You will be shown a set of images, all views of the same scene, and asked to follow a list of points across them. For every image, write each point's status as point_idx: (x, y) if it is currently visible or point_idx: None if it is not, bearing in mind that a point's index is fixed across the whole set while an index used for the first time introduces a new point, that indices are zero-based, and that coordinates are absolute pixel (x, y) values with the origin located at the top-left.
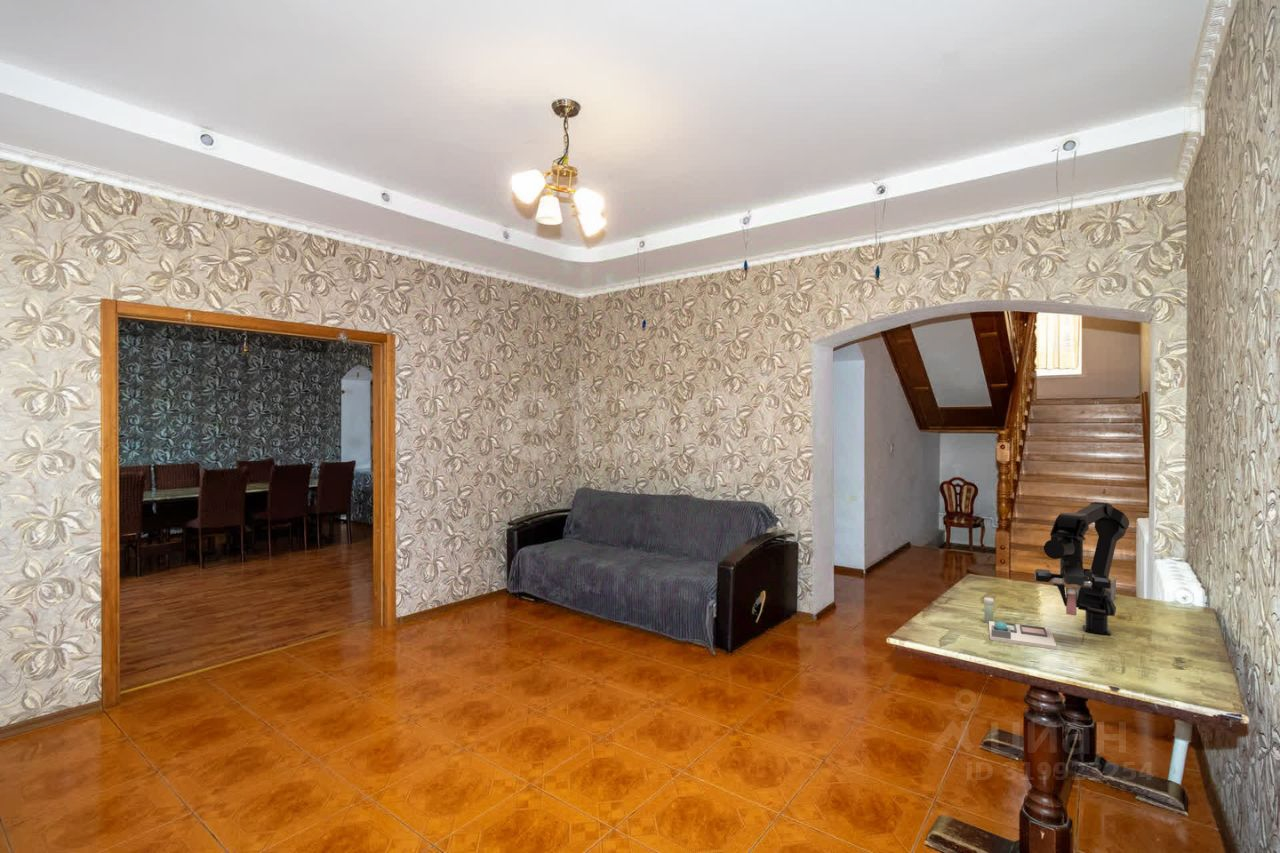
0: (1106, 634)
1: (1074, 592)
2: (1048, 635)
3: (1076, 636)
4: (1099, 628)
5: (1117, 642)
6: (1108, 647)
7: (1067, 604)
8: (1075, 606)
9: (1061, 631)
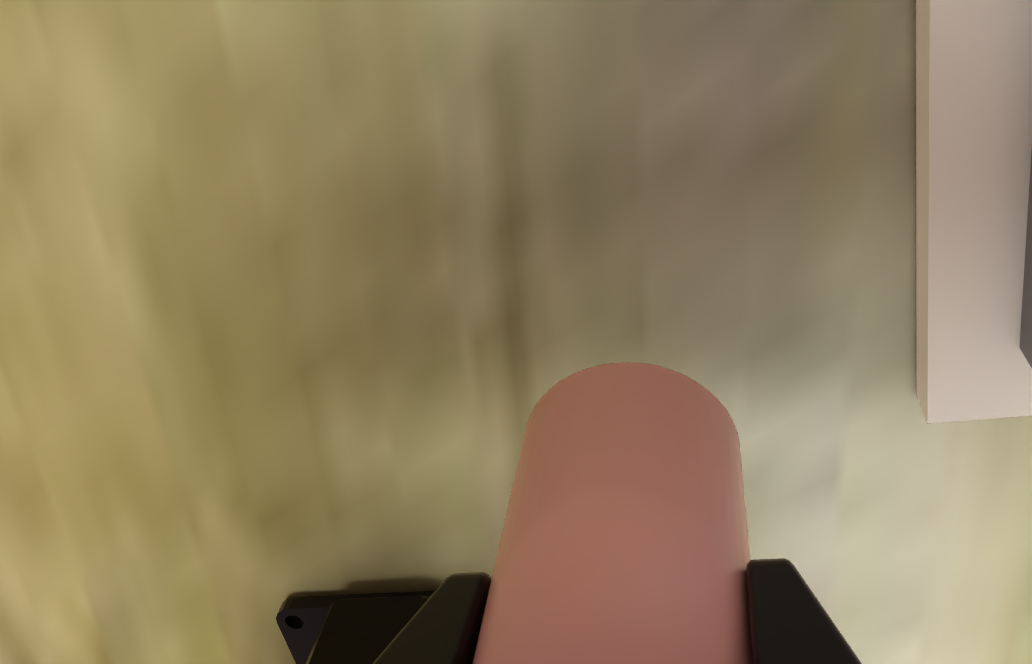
0: (315, 598)
1: None
2: (1006, 42)
3: None
4: (355, 633)
5: (174, 411)
6: (192, 140)
7: (720, 584)
8: (504, 558)
9: (768, 498)
